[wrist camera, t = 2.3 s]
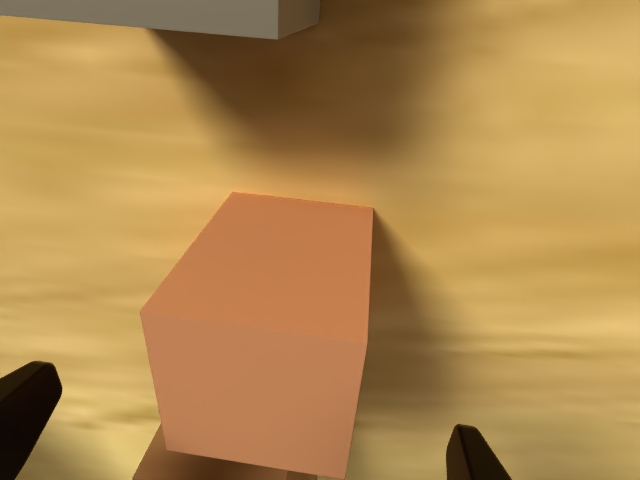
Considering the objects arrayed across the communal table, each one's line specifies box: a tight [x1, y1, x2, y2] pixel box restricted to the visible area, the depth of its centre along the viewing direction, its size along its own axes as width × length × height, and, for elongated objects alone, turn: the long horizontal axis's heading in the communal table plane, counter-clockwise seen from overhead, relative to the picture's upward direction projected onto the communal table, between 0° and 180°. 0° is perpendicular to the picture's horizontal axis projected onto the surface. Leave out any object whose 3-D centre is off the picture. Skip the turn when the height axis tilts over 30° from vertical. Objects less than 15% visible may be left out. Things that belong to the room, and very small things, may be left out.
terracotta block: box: [140, 192, 373, 480], centre depth 12 cm, size 4×4×6 cm
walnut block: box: [132, 423, 317, 480], centre depth 16 cm, size 5×5×5 cm
